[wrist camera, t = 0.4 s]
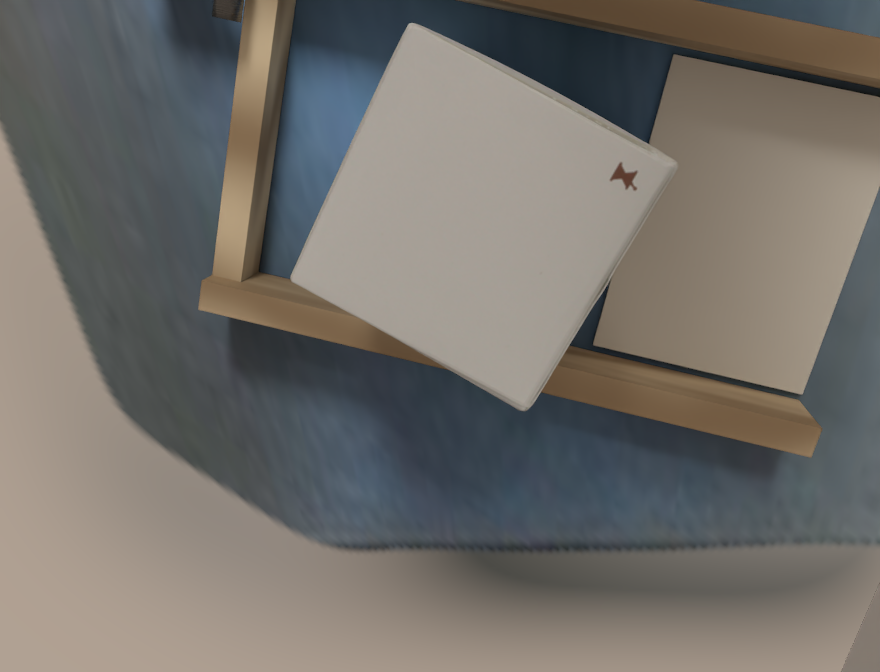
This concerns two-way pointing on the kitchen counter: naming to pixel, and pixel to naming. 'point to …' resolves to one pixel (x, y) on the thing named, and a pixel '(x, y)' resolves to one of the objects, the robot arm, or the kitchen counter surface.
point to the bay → (579, 371)
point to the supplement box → (479, 215)
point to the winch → (228, 9)
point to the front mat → (746, 224)
